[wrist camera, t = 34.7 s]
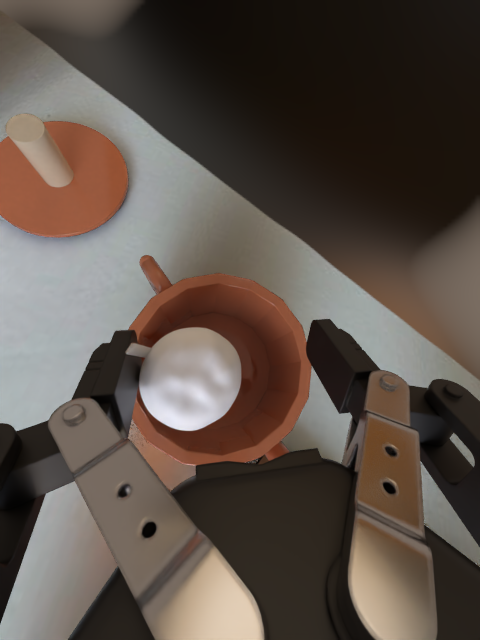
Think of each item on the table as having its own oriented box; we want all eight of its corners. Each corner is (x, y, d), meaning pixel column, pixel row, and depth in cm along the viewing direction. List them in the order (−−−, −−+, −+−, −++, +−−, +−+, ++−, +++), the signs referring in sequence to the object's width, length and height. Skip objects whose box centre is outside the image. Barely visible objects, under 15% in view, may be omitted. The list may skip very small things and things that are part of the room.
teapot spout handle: (147, 287, 26) (131, 259, 20) (163, 278, 27) (152, 247, 20) (284, 485, 24) (312, 522, 18) (299, 471, 24) (332, 503, 18)
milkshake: (155, 304, 19) (166, 293, 10) (216, 343, 20) (277, 367, 11) (116, 359, 18) (87, 406, 9) (183, 396, 20) (219, 469, 10)
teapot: (123, 353, 26) (80, 340, 17) (228, 285, 29) (241, 243, 20) (196, 464, 25) (193, 515, 16) (298, 382, 28) (346, 385, 19)
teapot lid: (-33, 160, 28) (-102, 96, 22) (89, 113, 31) (61, 45, 25) (33, 264, 27) (-20, 228, 20) (154, 203, 30) (141, 156, 24)
